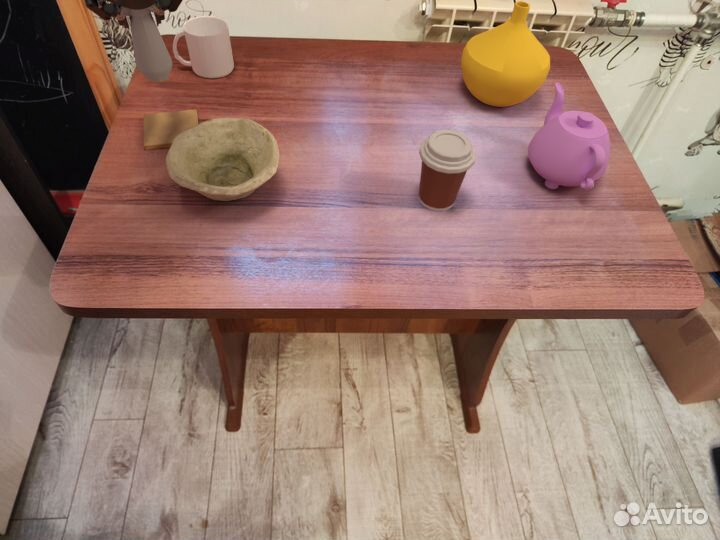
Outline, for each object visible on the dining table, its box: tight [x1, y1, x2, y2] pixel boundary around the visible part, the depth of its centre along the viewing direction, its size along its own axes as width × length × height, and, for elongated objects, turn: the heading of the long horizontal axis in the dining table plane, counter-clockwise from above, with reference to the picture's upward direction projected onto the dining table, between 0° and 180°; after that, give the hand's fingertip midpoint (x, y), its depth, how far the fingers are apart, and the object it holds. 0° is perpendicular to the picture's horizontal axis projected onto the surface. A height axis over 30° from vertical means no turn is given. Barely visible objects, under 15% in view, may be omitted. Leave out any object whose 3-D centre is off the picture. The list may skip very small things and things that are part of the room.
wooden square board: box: [143, 108, 200, 151], centre depth 93 cm, size 10×10×1 cm
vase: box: [460, 0, 551, 108], centre depth 101 cm, size 18×18×19 cm
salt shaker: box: [128, 8, 174, 83], centre depth 78 cm, size 6×6×13 cm
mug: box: [172, 15, 235, 80], centre depth 104 cm, size 12×9×9 cm
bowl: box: [165, 117, 280, 202], centre depth 80 cm, size 14×18×15 cm
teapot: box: [527, 81, 611, 191], centre depth 88 cm, size 20×14×12 cm
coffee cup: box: [417, 129, 477, 212], centre depth 81 cm, size 9×9×12 cm
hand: (141, 19), depth 77 cm, fingers closed on salt shaker, 4 cm apart
